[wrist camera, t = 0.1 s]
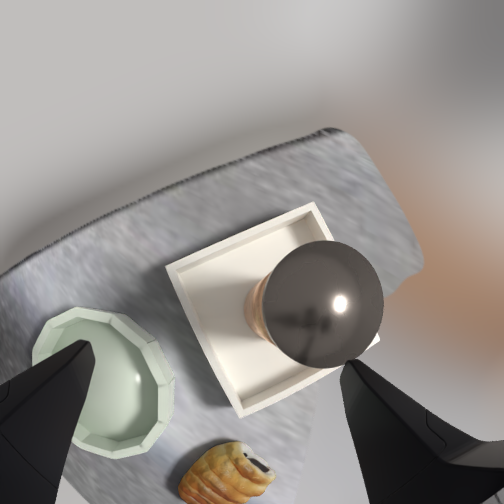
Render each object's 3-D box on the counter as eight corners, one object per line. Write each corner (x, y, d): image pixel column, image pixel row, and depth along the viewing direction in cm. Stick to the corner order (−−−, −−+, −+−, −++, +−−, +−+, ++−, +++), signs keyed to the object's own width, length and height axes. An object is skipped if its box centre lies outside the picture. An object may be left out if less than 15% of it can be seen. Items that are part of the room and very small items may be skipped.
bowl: (200, 422, 21) (198, 436, 18) (88, 453, 18) (77, 465, 16) (134, 287, 23) (123, 283, 20) (32, 336, 20) (15, 337, 18)
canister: (316, 322, 23) (399, 327, 11) (259, 351, 22) (299, 391, 10) (289, 266, 24) (350, 221, 12) (231, 293, 23) (241, 273, 11)
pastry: (210, 510, 19) (210, 531, 15) (162, 475, 19) (154, 494, 16) (279, 467, 21) (287, 487, 17) (231, 428, 21) (233, 446, 18)
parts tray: (364, 338, 24) (380, 340, 21) (237, 406, 22) (239, 418, 19) (304, 213, 26) (313, 201, 23) (171, 271, 24) (165, 266, 21)
